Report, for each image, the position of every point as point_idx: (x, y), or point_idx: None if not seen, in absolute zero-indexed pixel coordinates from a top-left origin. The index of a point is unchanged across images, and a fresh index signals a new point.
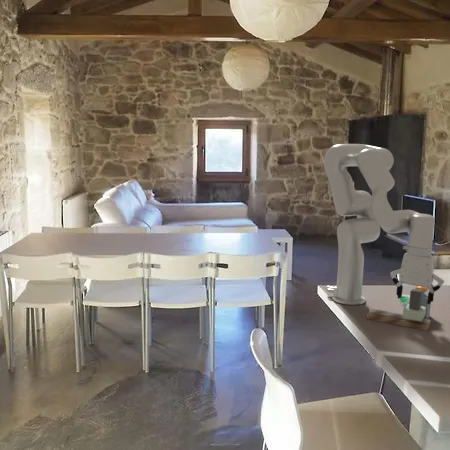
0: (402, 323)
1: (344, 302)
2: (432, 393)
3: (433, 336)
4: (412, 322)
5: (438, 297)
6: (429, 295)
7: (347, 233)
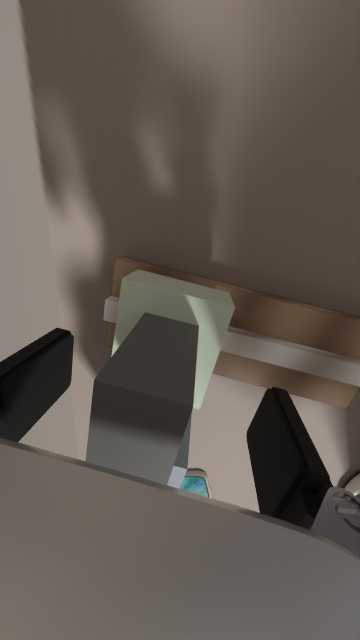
0: (225, 285)
1: None
2: None
3: (91, 187)
4: None
5: None
6: (7, 362)
7: None
